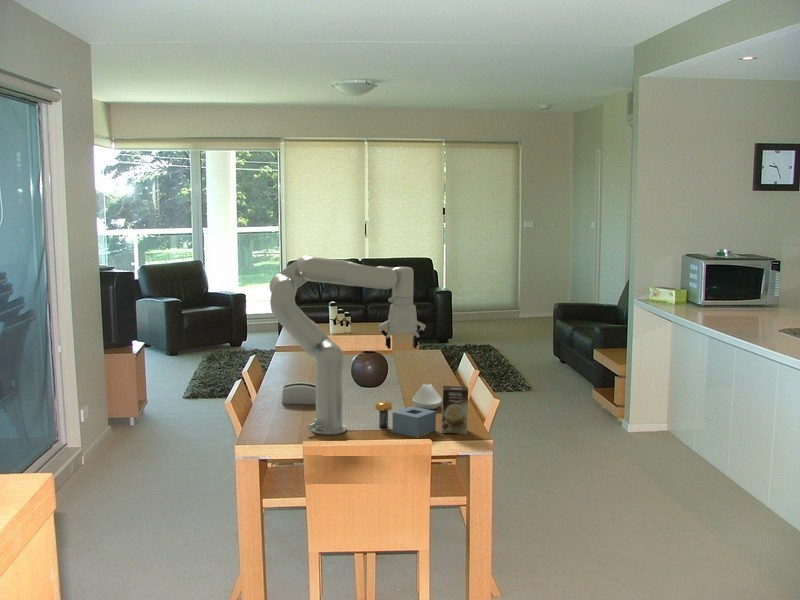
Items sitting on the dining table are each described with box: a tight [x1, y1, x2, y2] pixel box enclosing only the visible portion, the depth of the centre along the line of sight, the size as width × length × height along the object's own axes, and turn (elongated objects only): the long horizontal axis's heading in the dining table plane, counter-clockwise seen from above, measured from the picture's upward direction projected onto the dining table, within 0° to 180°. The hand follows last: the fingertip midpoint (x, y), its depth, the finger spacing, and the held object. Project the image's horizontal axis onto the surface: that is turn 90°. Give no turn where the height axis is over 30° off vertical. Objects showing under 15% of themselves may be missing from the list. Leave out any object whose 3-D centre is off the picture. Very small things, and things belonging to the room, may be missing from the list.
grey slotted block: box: [281, 381, 316, 405], centre depth 313 cm, size 17×5×10 cm, turn 87°
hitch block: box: [391, 405, 437, 438], centre depth 276 cm, size 11×11×7 cm
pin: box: [375, 400, 393, 430], centre depth 281 cm, size 6×6×9 cm
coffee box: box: [440, 385, 469, 435], centre depth 276 cm, size 9×6×16 cm
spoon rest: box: [411, 383, 442, 410], centre depth 314 cm, size 24×12×7 cm, turn 179°
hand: (401, 348), depth 281 cm, fingers open, 9 cm apart
